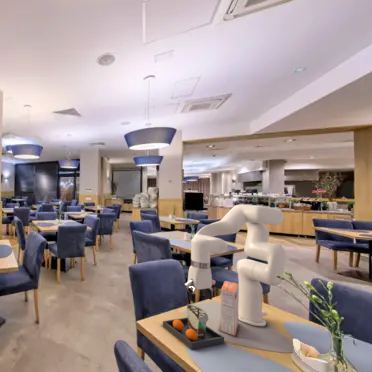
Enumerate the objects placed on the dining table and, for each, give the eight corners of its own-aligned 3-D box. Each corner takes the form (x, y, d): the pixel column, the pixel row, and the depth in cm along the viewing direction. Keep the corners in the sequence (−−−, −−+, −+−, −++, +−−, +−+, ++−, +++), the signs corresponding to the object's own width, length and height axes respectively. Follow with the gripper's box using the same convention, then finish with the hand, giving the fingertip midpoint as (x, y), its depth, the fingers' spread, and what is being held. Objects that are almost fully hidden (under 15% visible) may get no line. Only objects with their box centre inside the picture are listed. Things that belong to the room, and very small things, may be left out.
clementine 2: (191, 335, 107) (191, 326, 107) (200, 342, 103) (200, 332, 103) (183, 337, 106) (183, 327, 106) (191, 344, 102) (192, 333, 102)
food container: (213, 341, 104) (214, 319, 104) (198, 339, 105) (199, 317, 105) (199, 324, 116) (200, 305, 116) (186, 323, 117) (186, 303, 117)
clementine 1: (178, 326, 115) (178, 317, 115) (186, 332, 110) (186, 322, 110) (170, 327, 113) (170, 318, 113) (178, 333, 109) (178, 323, 109)
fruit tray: (191, 321, 120) (192, 316, 120) (224, 343, 104) (224, 337, 104) (162, 326, 115) (162, 321, 115) (191, 349, 99) (191, 343, 99)
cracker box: (223, 319, 122) (224, 280, 122) (238, 324, 118) (239, 283, 118) (219, 330, 112) (220, 288, 112) (235, 336, 108) (236, 292, 108)
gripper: (207, 260, 116) (207, 293, 116) (179, 263, 112) (179, 298, 112) (222, 265, 109) (222, 301, 109) (192, 268, 105) (192, 306, 105)
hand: (200, 299), depth 111 cm, fingers open, 9 cm apart
